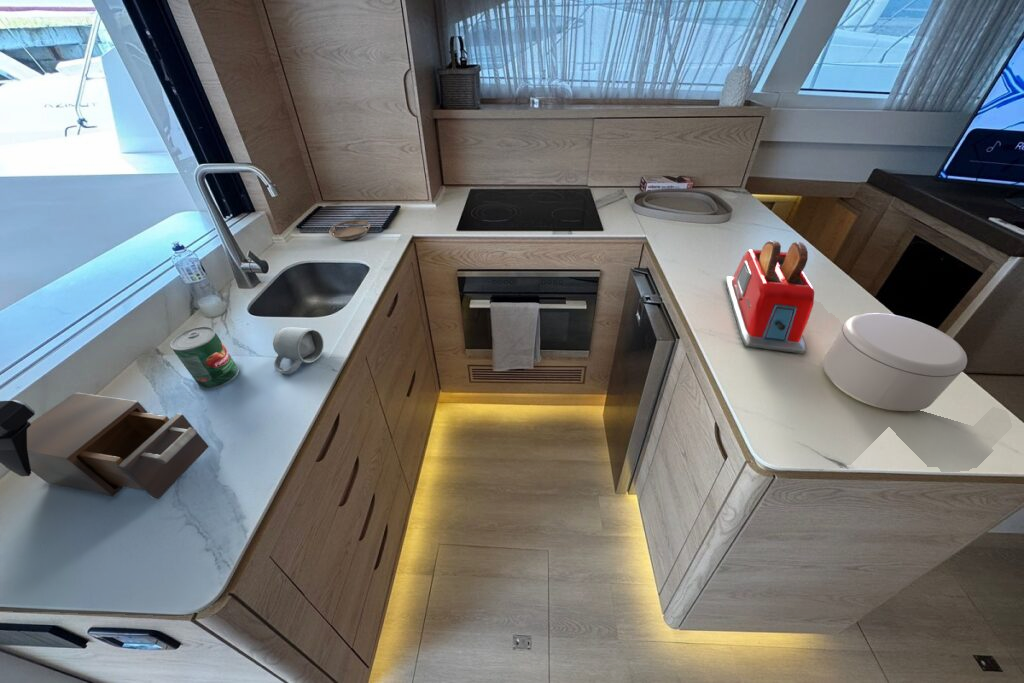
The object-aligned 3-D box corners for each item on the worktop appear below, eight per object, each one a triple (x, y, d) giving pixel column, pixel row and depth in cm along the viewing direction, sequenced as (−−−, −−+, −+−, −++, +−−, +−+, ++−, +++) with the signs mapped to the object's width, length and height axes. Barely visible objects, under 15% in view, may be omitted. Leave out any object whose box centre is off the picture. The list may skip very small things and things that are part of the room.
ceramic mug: (300, 343, 96) (287, 318, 91) (328, 348, 94) (317, 323, 89) (268, 373, 88) (252, 346, 83) (298, 379, 86) (284, 352, 81)
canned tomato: (239, 380, 86) (214, 341, 79) (197, 394, 83) (167, 355, 76) (238, 360, 91) (214, 322, 85) (199, 372, 88) (171, 334, 82)
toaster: (806, 355, 87) (849, 281, 75) (743, 347, 90) (774, 274, 78) (773, 284, 111) (801, 219, 99) (724, 279, 114) (746, 215, 102)
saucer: (333, 245, 140) (330, 238, 139) (329, 231, 151) (327, 224, 149) (374, 237, 145) (373, 230, 143) (368, 224, 156) (367, 217, 154)
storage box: (173, 440, 74) (138, 401, 67) (113, 496, 65) (66, 458, 58) (114, 430, 76) (75, 392, 69) (49, 484, 67) (-4, 445, 60)
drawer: (230, 450, 70) (205, 417, 65) (182, 503, 62) (148, 472, 57) (152, 437, 73) (121, 405, 68) (96, 487, 65) (56, 455, 60)
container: (798, 362, 85) (823, 318, 78) (865, 347, 88) (895, 303, 81) (878, 425, 71) (917, 379, 64) (954, 405, 74) (1000, 358, 67)
